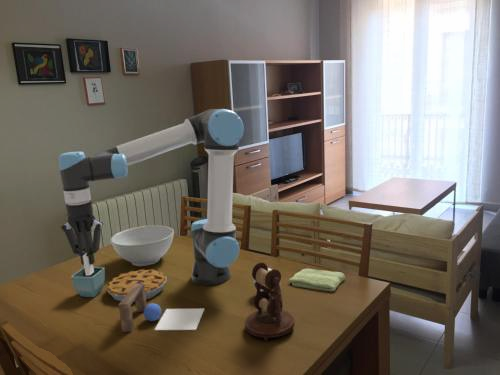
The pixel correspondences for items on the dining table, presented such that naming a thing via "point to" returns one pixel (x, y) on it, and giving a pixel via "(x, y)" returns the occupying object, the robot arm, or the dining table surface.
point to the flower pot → (89, 282)
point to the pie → (126, 281)
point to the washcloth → (317, 279)
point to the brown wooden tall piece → (268, 305)
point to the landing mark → (180, 319)
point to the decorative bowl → (143, 244)
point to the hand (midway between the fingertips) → (89, 273)
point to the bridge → (125, 306)
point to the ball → (152, 312)
